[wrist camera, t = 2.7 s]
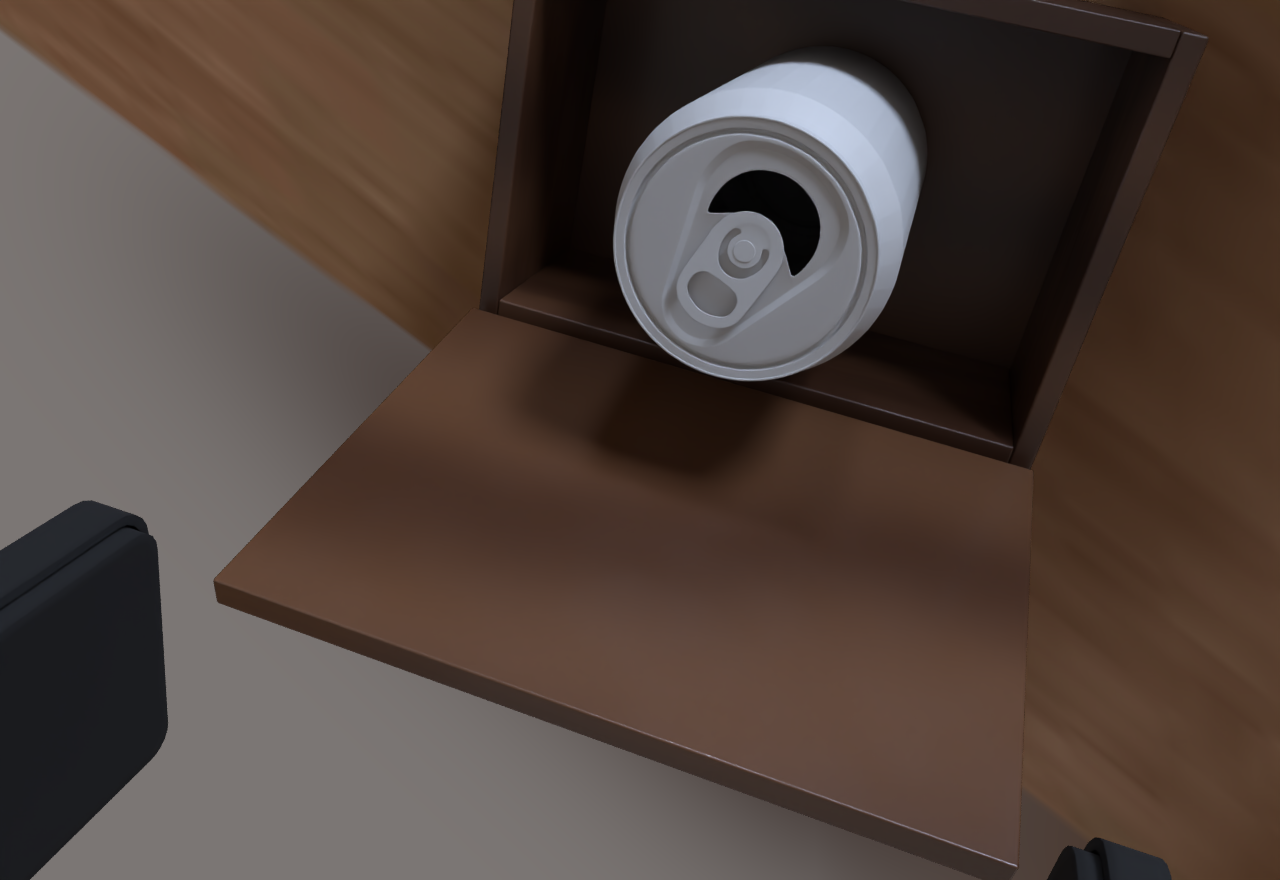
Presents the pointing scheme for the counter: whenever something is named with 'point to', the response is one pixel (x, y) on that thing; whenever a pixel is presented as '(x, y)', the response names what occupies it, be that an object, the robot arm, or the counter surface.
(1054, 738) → the counter surface
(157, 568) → the robot arm
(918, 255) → the chest
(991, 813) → the chest lid
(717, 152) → the beverage can
